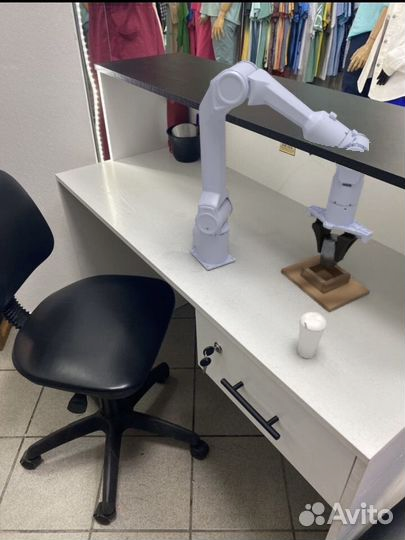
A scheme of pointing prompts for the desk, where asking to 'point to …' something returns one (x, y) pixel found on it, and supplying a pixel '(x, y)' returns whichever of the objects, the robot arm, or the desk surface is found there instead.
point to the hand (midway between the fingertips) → (329, 255)
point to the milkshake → (310, 333)
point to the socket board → (325, 283)
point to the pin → (329, 250)
